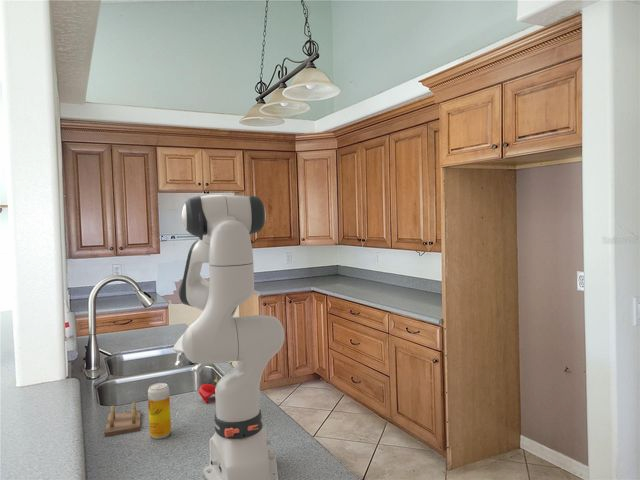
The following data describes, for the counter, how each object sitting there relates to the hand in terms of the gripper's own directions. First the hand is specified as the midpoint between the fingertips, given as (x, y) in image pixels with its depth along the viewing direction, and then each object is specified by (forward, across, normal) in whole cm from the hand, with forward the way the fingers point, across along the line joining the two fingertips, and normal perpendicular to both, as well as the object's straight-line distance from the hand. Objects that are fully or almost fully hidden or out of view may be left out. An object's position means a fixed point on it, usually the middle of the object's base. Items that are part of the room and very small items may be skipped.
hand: (186, 369), depth 151 cm
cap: (+1, -8, +24) cm, 25 cm away
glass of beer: (+20, 0, +5) cm, 20 cm away
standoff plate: (+21, -17, +3) cm, 27 cm away
